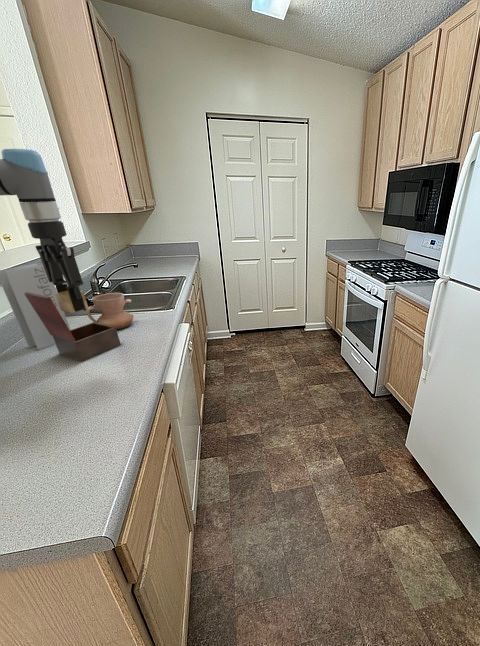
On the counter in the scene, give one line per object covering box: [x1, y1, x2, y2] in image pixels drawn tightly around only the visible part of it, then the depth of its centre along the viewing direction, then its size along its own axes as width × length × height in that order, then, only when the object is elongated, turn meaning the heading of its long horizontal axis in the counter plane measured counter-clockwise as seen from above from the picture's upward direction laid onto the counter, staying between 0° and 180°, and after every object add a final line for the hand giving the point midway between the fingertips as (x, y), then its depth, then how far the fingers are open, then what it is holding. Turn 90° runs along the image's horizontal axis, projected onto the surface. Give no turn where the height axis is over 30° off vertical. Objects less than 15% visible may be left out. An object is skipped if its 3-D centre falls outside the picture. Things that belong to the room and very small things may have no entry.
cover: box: [24, 292, 75, 342], centre depth 112 cm, size 16×14×1 cm
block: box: [55, 290, 89, 314], centre depth 94 cm, size 5×5×5 cm
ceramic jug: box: [85, 292, 134, 331], centre depth 145 cm, size 18×14×14 cm
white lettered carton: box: [0, 262, 71, 351], centre depth 127 cm, size 14×6×30 cm, turn 159°
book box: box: [53, 321, 122, 362], centre depth 125 cm, size 16×14×8 cm
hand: (74, 308), depth 95 cm, fingers closed on block, 5 cm apart
